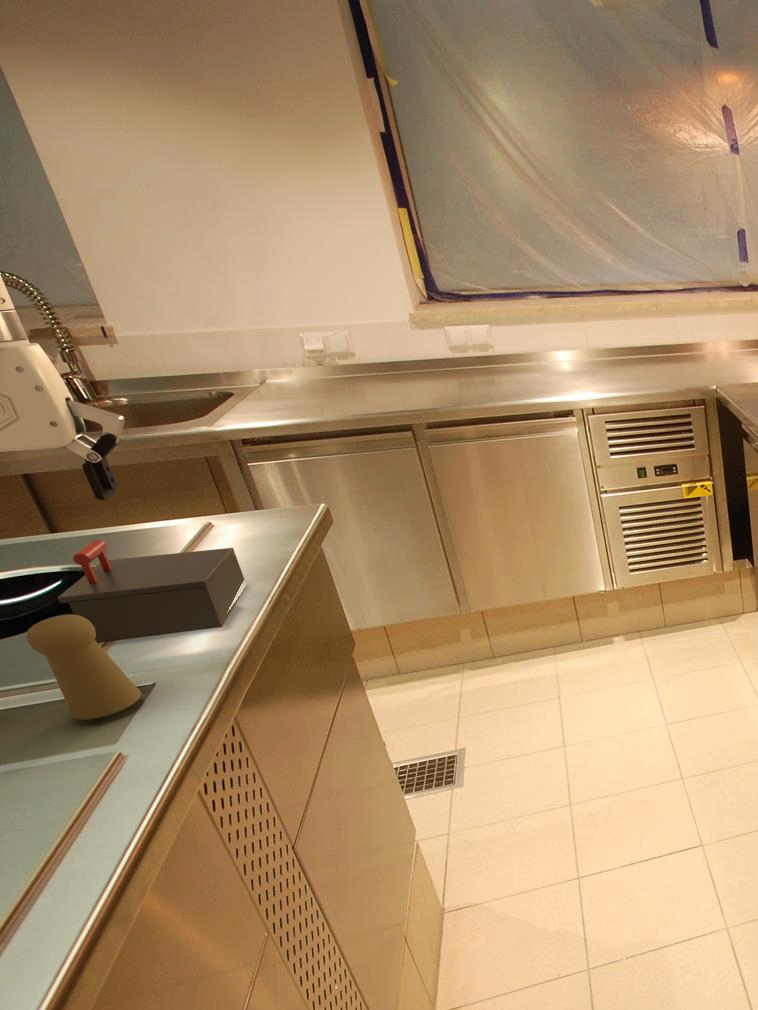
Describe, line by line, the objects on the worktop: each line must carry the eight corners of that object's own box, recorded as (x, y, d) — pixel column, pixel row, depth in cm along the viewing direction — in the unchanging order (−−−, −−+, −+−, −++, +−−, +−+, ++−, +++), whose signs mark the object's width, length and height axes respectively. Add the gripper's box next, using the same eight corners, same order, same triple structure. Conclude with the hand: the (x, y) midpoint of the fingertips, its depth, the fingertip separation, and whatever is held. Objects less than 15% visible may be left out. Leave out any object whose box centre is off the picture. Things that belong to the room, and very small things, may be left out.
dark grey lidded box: (91, 651, 108) (68, 602, 105) (132, 610, 120) (112, 565, 117) (224, 634, 114) (206, 587, 111) (250, 596, 126) (235, 552, 123)
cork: (59, 723, 93) (0, 639, 87) (90, 693, 98) (35, 611, 92) (124, 714, 94) (70, 630, 88) (151, 685, 99) (101, 604, 93)
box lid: (59, 603, 105) (42, 566, 103) (104, 565, 117) (90, 532, 115) (206, 586, 111) (192, 551, 109) (235, 552, 123) (223, 520, 121)
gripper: (-186, 337, 75) (-88, 521, 82) (71, 332, 82) (140, 502, 89) (-135, 329, 81) (-48, 501, 88) (100, 325, 88) (162, 485, 95)
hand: (47, 501), depth 89 cm, fingers open, 9 cm apart
